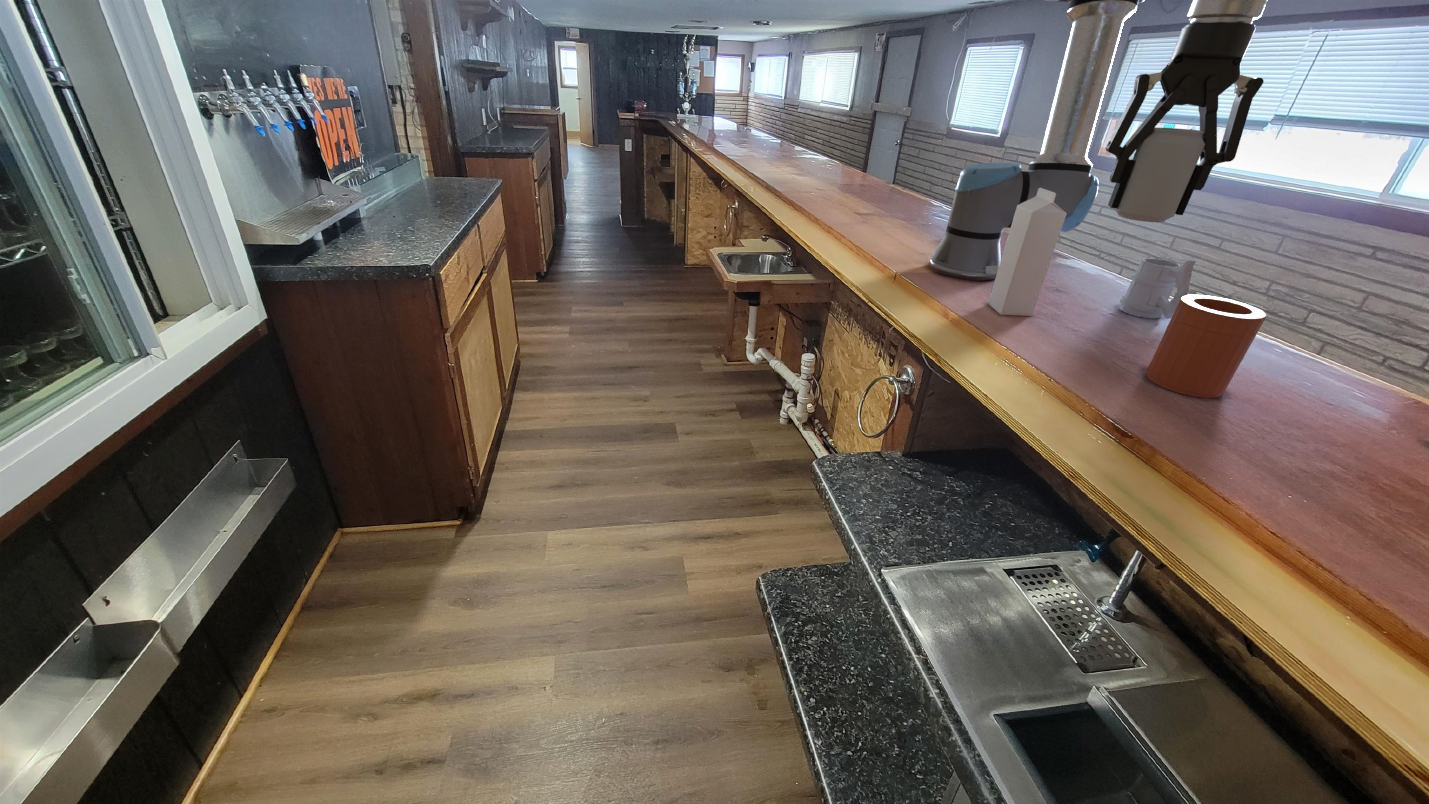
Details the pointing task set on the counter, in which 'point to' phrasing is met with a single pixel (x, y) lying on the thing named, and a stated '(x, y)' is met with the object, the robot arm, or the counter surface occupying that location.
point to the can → (1160, 174)
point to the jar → (1204, 345)
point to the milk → (1027, 254)
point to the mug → (1156, 288)
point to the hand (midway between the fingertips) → (1144, 209)
